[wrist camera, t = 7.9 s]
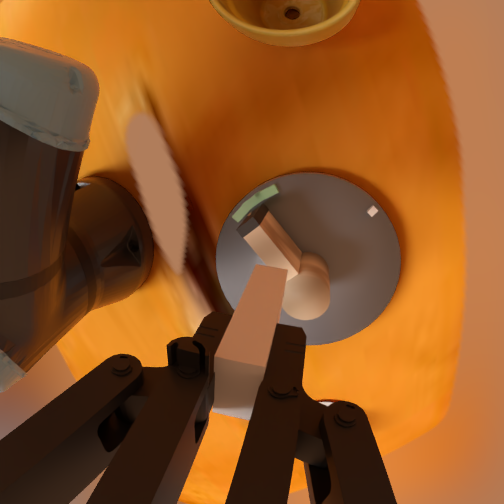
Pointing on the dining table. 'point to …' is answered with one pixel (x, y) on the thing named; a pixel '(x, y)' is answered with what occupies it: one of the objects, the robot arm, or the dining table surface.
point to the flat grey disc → (321, 249)
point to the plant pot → (279, 26)
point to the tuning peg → (289, 264)
